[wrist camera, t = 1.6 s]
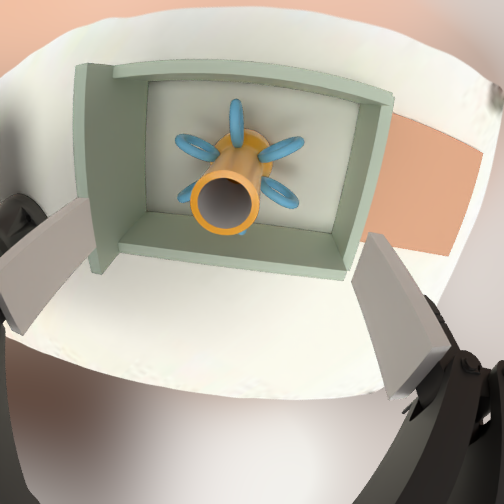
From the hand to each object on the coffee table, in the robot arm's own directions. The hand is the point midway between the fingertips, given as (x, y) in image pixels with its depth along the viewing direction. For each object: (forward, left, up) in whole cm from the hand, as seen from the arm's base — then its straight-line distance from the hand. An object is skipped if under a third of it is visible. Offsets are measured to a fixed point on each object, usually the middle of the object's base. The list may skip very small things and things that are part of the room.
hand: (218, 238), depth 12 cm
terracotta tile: (+22, 0, -19) cm, 29 cm away
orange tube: (0, 0, -19) cm, 19 cm away
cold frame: (0, 0, -19) cm, 19 cm away
